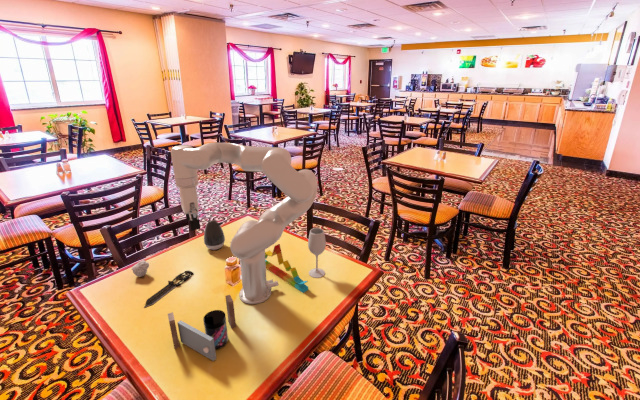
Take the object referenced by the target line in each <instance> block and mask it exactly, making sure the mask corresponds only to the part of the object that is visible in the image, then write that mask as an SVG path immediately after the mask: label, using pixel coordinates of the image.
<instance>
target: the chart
mask: <svg viewBox="0 0 640 400" xmlns="http://www.w3.org/2000/svg"><path fill="white" fill-rule="evenodd" d="M273 256H276V258H277V263H278V265H279V266H280V265H283V267H284V268H285V270H286V271H284V270H282V268H280V267H278V266H277V265H275V264H273V263H271V261H269V260H267V259H268V257H273ZM265 264H266V271H267V270H268V271H270V272H271V273H272V274H274V275H275V276H277V277H278V278H280V280H281V279H282V280H283V281H284V282H286V283H287V284H289V285H290V286H292V287H293V288H295V289H297V290H298V291H299V292H301V293H302V294H304V293H306V292H307V291H309V286H308V285H307V283H308V282H309V281H308V280H303V279H302V278H300V276H299V274H298V271H297V269H296V267H292V266H291V264H290V262H289V260H287V259H285V260H284V257H283V253H282V249H281V245H280V243H277V244H275V245H274V246H273V251H271V250H267V251H265ZM287 272H291V274H289V273H287Z"/></svg>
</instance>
